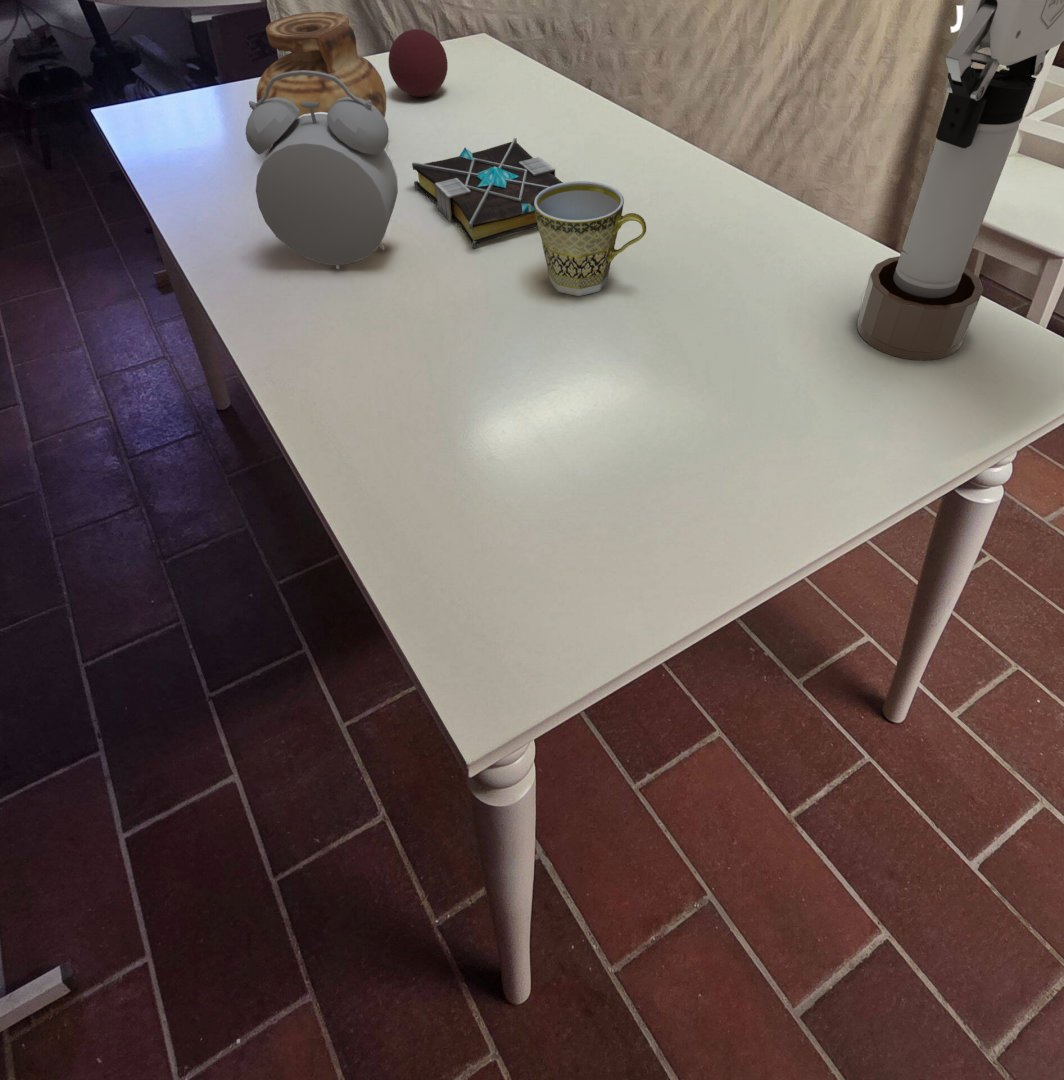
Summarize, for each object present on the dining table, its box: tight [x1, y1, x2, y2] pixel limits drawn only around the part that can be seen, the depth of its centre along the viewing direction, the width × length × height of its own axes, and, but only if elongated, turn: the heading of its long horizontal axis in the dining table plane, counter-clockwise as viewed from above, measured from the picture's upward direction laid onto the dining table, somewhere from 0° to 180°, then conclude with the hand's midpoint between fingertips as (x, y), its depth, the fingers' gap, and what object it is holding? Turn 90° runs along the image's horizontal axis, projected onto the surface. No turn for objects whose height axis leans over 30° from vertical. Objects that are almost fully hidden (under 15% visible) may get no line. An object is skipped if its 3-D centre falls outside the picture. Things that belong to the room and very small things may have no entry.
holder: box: [856, 255, 985, 361], centre depth 87 cm, size 11×11×6 cm
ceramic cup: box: [534, 180, 647, 297], centre depth 95 cm, size 13×10×10 cm
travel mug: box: [893, 67, 1035, 298], centre depth 78 cm, size 6×7×20 cm
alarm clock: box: [245, 70, 399, 270], centre depth 97 cm, size 16×9×22 cm, turn 85°
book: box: [411, 137, 564, 249], centre depth 112 cm, size 22×17×5 cm
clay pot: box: [256, 11, 387, 120], centre depth 123 cm, size 19×19×20 cm
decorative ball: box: [388, 28, 449, 98], centre depth 140 cm, size 10×10×10 cm
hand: (977, 130), depth 74 cm, fingers closed on travel mug, 6 cm apart
